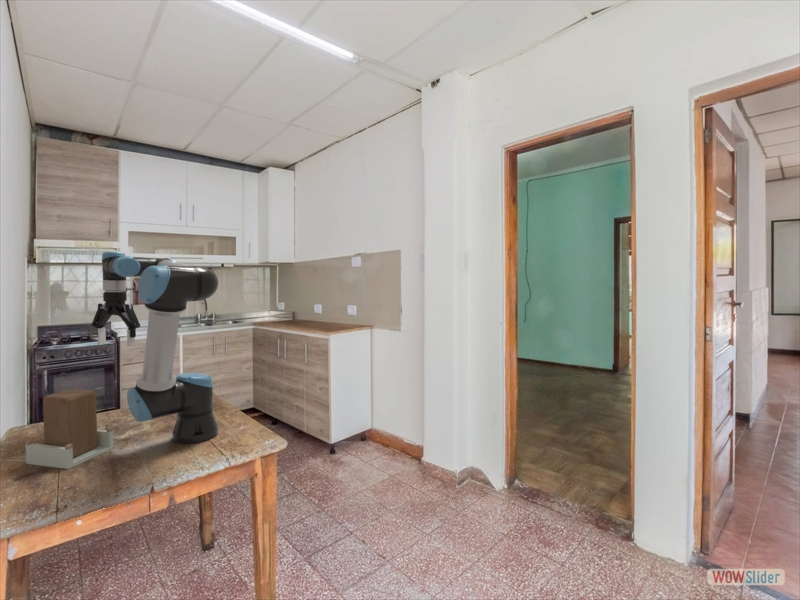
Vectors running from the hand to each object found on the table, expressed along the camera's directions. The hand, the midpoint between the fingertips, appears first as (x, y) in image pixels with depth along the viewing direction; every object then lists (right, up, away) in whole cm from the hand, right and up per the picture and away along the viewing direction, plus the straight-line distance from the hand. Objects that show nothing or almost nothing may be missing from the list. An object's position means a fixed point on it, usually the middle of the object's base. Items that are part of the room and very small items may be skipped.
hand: (116, 345), depth 157 cm
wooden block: (+4, -33, -27) cm, 42 cm away
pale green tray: (+4, -33, -26) cm, 43 cm away
